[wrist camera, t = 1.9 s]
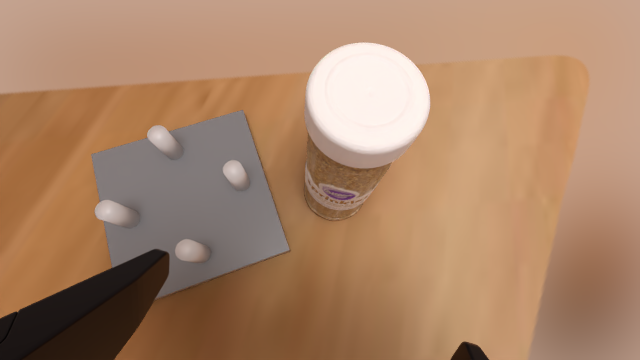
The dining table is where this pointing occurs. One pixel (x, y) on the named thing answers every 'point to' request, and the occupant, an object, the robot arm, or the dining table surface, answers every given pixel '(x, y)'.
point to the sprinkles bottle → (359, 123)
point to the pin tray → (189, 201)
